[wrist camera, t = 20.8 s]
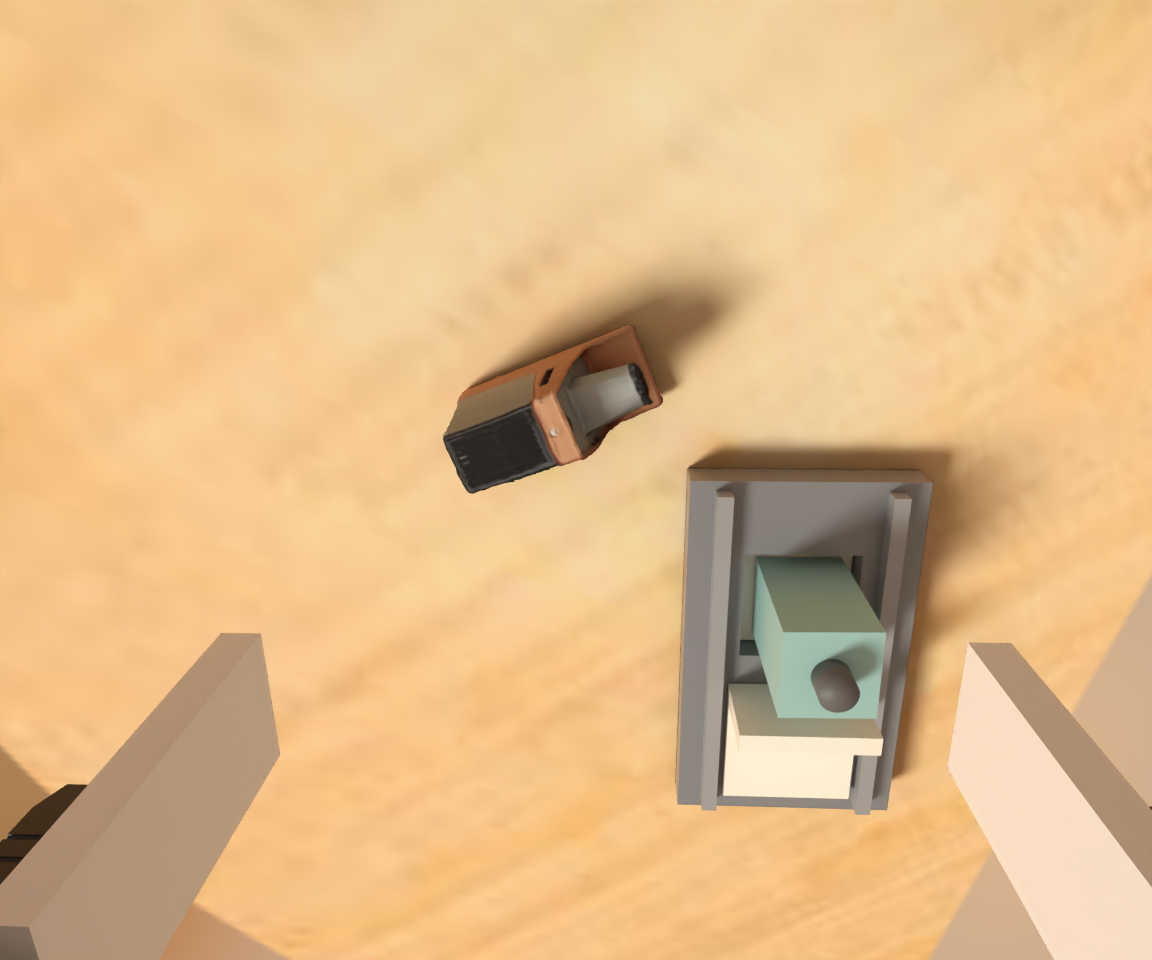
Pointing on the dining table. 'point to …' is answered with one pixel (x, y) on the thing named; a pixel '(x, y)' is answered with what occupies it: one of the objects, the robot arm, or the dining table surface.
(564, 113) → the dining table surface
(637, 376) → the electronic device
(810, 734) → the shutter
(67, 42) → the dining table surface
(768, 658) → the teal bottle
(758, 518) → the socket board
